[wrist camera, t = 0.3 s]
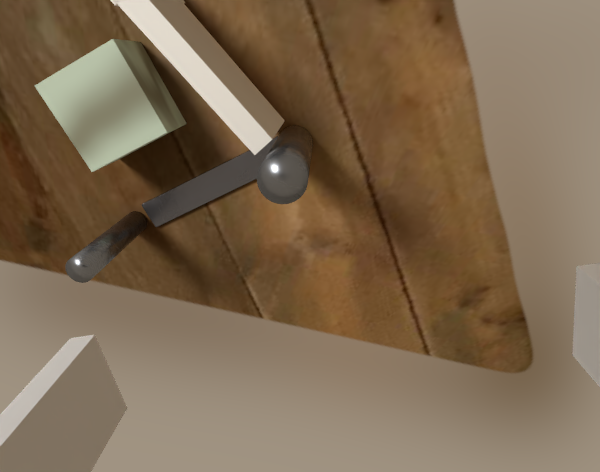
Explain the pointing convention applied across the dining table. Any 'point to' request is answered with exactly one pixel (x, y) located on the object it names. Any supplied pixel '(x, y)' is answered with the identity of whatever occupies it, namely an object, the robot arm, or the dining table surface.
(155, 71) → the pale green block
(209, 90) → the gate
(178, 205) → the gate frame
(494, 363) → the dining table surface
